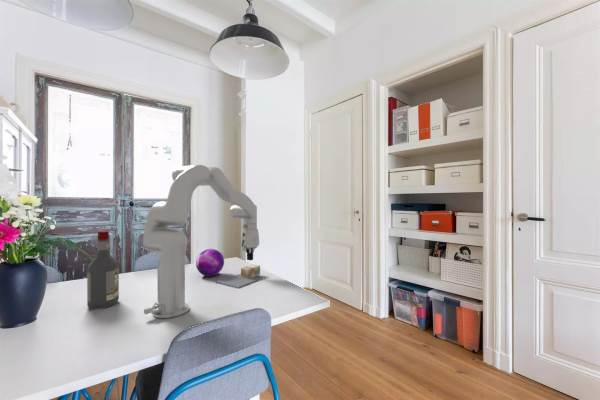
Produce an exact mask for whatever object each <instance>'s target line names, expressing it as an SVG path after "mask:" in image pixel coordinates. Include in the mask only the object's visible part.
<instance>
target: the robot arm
mask: <svg viewBox="0 0 600 400" xmlns="http://www.w3.org/2000/svg"><path fill="white" fill-rule="evenodd" d="M171 178H172V183H171V185H170V188H169V191H168V196H167V198H166V201H159V202H157V203H154V204H153V205H152V206H151V208H150V209H149V212H148V214H147V217H146V223H145V227H144V232H143V238H142V239H143V240H142V241H143V246H144V248H145V250H147V251H148V252H151V253H153V254H154V253H156V254H157V253H158V254H161V255H160V257H159V260H158V262H157V269H156V270H157V272H156V273H157V276H156V278H157V283H156V284H157V285H156V286H157V301H155V302H154V304H153V305H152V306H151V307H148V308H147V307H146V308H144V309H143V314H144V315H149V314H150V313H151V314H152V316H153V317H154V318H156V319H171V318H176V317H179V316H180V317H181V316H182V315H184V314H186V313H188V311H190V310H189V309H190V305H189V303H187V302H186V293H185V292H186V269H185V268H186V261H185V260H186V252H187V247H188V241H189V240H188V237H187V235H186V233H184V232H183V231H182V230H179V229H173V228H169V226H170V227H171V226H172V227H180V226H183V225H184V224H186V223H187V221H188V219H189V215H190V214H189V213H190V207H191V202H192V197H193V194H194V192H195V190H196V189H197V188H198V187H201V186H202V187H204V186H205V187H206V186H209V187H210V188H211V189H212V190H213V191H214V192H215V194H216V195H217V196H218V197H219V199H220V200H222V201H224V202H227V203H230V204H233V205H232V206H231V207H230V208H229V214H230V216H231V217H232V218H234V219H242V230H241V231H242V232H241V240H240V245H241V248H242V251H245V253H246V260H247V261H253V260H254V252H255V250H256V249H257V248H258V247H259V245H260V234H259V230H258V229H259V228H258V213H257V212H258V207H257V205H256V204H255V203H254V202H253V200H252V199H251V198H250V197H249V196H248V195H247V194H245V193H244V192H242V191H240V190H238V189H237V188H235V187H234V186H233V184H232V182H230V180H229V179H228V177H227V176H226V175H225V173H224V171H223V170H222V169H221V168H219V167H215V166H209V167H207V166H206V165H203V164H190V165H181V166H177V167H175V168H174V169H173V171H172V172H171Z"/></svg>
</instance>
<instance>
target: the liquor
mask: <svg viewBox="0 0 600 400" xmlns="http://www.w3.org/2000/svg"><path fill="white" fill-rule="evenodd" d="M109 233H110V231H109V230H108V231H107V230H100V231H97V241H98V242H97V245H98V246H97V256H96V257H94V259H93V260H91V262H90V263H88V266H87V268H86V273H87V275H86V278H87V279H86V282H87V285H86V286H87V288H86V289H87V293H86V295H87V297H86V298H87V301H86V303H87V308H89V309H91V310H99V309H107V308H110V307H114V305H115V304H117V303H118V301H119V299H120V298H119V297H120V295H119V293H120V287H119V285H120V281H119V280H120V278H119V277H120V276H119V275H120V273H119V272H120V271H119V269H120V268H119V267H120V266H119V261H118V260H117V259H116V258H114V257H113V256H112V255H111V254H110V251H109V239H110V237H109V235H110V234H109Z"/></svg>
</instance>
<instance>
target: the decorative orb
mask: <svg viewBox="0 0 600 400" xmlns="http://www.w3.org/2000/svg"><path fill="white" fill-rule="evenodd" d="M224 265H225V259H224V255H223V253H221V252H220V251H219V250H218V249H214V248H209V249H205V250H203V251H202V252H200V253H199V254H198V256H197V258H196V261H195V266H196V269H197V271H198V273H200V274H201V275H203V276H205V277H213V276H216V275H218V274H220V272H221V271H222V270H223V267H224Z"/></svg>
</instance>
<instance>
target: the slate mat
mask: <svg viewBox="0 0 600 400" xmlns="http://www.w3.org/2000/svg"><path fill="white" fill-rule="evenodd" d="M263 278H264V279H266V277H265V276H263V275H257V276H254V277H252V278H249V279H246V278H241V273H238V274H235V275H232V276H230V277H226V278H222V279H220V280H217V281H215V283H216V284H219V285H223V286H226V287H231V288H235V289H241V288H243V287H246V286H248V285H251V284H254V283H256V282H259V281H261V280H264V279H263ZM258 280H259V281H258ZM253 282H254V283H253Z"/></svg>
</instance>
